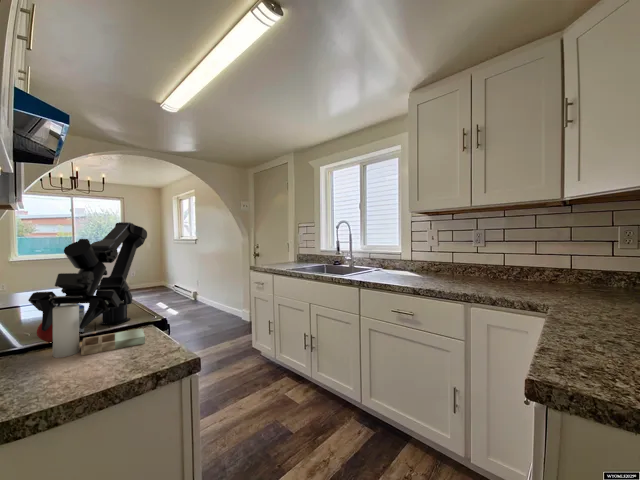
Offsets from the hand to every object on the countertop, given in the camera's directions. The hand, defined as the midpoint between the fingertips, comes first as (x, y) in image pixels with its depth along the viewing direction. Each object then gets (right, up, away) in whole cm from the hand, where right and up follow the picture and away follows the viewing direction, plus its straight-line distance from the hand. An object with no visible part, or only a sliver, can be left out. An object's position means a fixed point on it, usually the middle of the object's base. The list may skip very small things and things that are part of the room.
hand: (62, 329), depth 69 cm
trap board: (+7, -7, +8) cm, 13 cm away
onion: (-11, -7, +8) cm, 15 cm away
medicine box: (-13, -6, +17) cm, 22 cm away
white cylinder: (0, -7, +1) cm, 7 cm away
